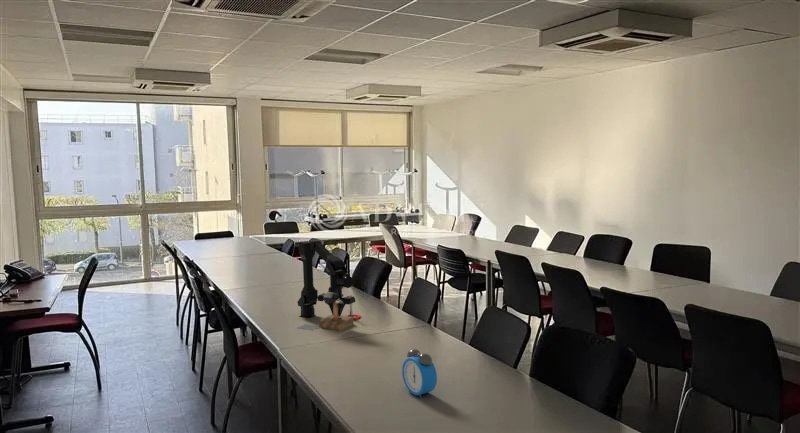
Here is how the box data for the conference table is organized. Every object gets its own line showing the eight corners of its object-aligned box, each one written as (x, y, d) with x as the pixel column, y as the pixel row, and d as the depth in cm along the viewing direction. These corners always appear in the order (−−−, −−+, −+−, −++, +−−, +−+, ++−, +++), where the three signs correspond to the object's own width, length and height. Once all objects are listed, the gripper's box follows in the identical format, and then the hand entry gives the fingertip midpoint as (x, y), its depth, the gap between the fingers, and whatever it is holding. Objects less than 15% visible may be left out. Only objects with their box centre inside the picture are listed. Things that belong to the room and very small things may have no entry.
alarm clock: (401, 389, 206) (401, 348, 204) (415, 385, 209) (415, 345, 208) (423, 401, 195) (423, 358, 194) (438, 397, 199) (438, 354, 197)
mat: (295, 328, 281) (295, 328, 281) (305, 324, 289) (305, 324, 289) (312, 331, 277) (312, 330, 277) (322, 327, 284) (322, 326, 284)
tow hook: (347, 316, 306) (342, 320, 297) (347, 292, 305) (342, 295, 296) (362, 316, 305) (358, 320, 296) (362, 292, 304) (358, 295, 295)
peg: (332, 323, 284) (332, 303, 283) (335, 321, 287) (335, 302, 286) (337, 323, 283) (337, 304, 282) (340, 322, 286) (340, 302, 285)
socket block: (319, 328, 282) (319, 320, 282) (333, 322, 293) (333, 314, 293) (340, 331, 277) (340, 323, 277) (353, 324, 288) (353, 316, 287)
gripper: (310, 286, 280) (311, 317, 282) (343, 289, 272) (344, 322, 273) (323, 282, 290) (324, 312, 291) (355, 285, 282) (356, 316, 283)
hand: (336, 315), depth 285 cm, fingers closed on peg, 3 cm apart
